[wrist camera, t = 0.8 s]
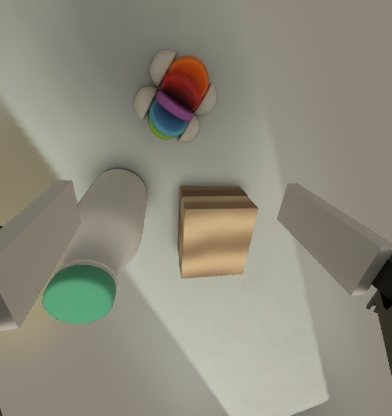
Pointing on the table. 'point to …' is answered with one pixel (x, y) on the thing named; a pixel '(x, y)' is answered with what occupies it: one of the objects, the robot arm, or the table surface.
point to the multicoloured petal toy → (176, 96)
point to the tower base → (206, 192)
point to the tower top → (215, 235)
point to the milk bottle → (98, 248)
